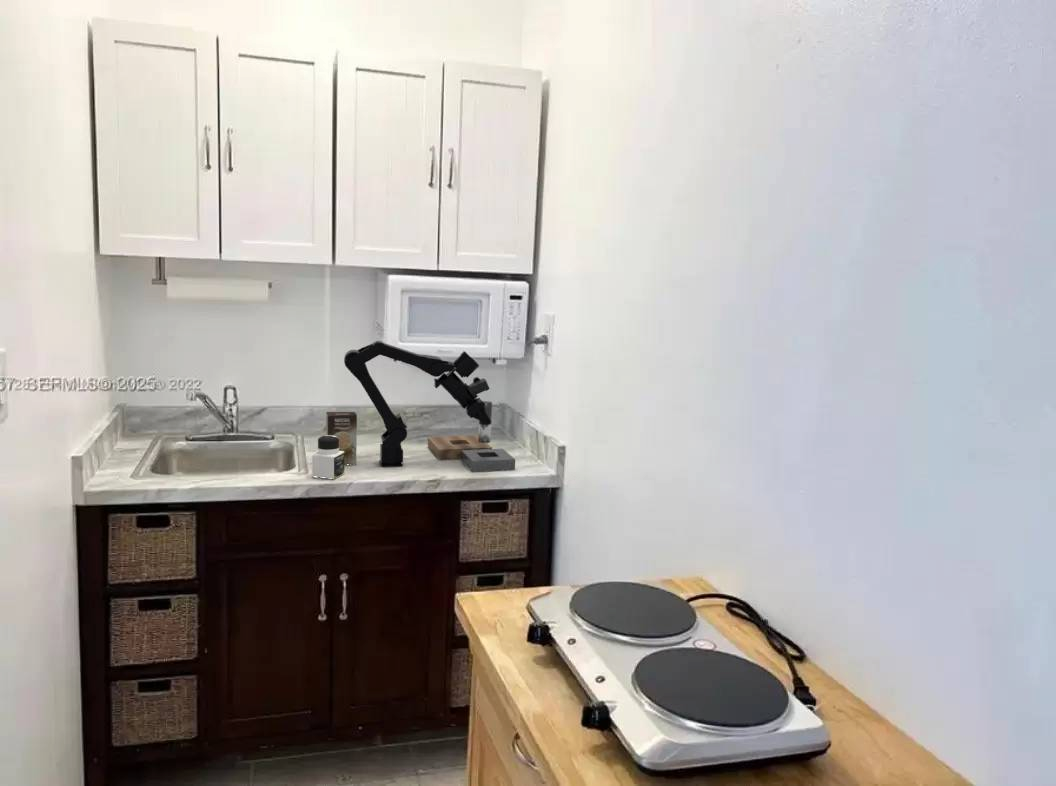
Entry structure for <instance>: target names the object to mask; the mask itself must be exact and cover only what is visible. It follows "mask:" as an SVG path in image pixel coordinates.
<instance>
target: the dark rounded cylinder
mask: <svg viewBox="0 0 1056 786" xmlns="http://www.w3.org/2000/svg"><path fill="white" fill-rule="evenodd" d="M482 401H483V402H484V403H485V406H484V411H485V412H486V414H487V416H488V417H489V419H490V420H491V421H492V417H493V416H492V414H493V411H492V410H493V402H492V401H489V400H488V401H487V400H482ZM491 438H492V422H491V423H490V424H487V423H485V422H482V421H480V420H478V442H480V443H488V444H490V443H491V442H492V440H491Z"/></svg>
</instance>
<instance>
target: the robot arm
mask: <svg viewBox="0 0 1056 786" xmlns="http://www.w3.org/2000/svg"><path fill="white" fill-rule="evenodd" d="M379 356H382V357H384V358H385V357H386V358H388V359H392V360H395V361H398V362H402V363H404V364H407V365H410V366H414V367H416V368H417V369H419V370H421V371H422V372H425V374H428V375H430V376H432V377H435V378H433V381H434V384H433V387H434V388H435V389H439V387H440V386H441V387H442V388H443V389H444V390H445V391H446V392H447V393H448V394H449V395H450V396H451V398H452V399H454V400H455V401H457V403H458V404H459V405H460V406H461V408H463V409H464V410H465V413H466V414H467V416H468V417H469V418H470V419H472V418H473V419H475V420H478V421H479V420H480V421H482V422H485V423H487V424H490V423H491V424H492V419H491V420H490V419H489V417H488V416H487V414H486V412H485V411H484V406H485V403H484V402H483V401H484V400H482V399H481V398H480V397H478V396H479V394H481V393H484V392H485V391H489V390H490V389H491V388H490V386H489V384H488V382H487V379H486V378H480V377H478V376H476V377H473V380H472V383H470V384H467V383H465V382H464V381H463V380H462V379H464V378H468V377H469V376H471V375H472V374H473V373H474V372H475V371H476V370H477V369H478V368H479V367H480V364H479V363H478V362H477V361H476V360H475V359H474V358H473V357H471V356H470V355H469V354H468V353H467V352H466V350H465V351H464V350H463V351H462V352H461V353H460V355H459V356H458V357H457V358H456V359H455V360H454V361H453V362H452V361H449V360H443V359H442V358H441V357H439V356H435V355H429V354H420V353H415V352H413V351H409V350H406V349H403V348H400V347H397V346H396V345H395V346H394V345H391V344H388V343H385V342H383V341H381V340H375V341H374V342H373V343H371V344H368V345H366V346H363V347H361V348H359V349H350V350H348V351H347V352H345V354H344V356H343V357H344V360H343V361H344V366H345V368H347V370H348V371H349V372H350V373H351V374H352V375H353V376H354V377H355V378H356V380H358V381H359V383H360V384H361V386H362V388H363V389H364V391H365V393H366V394H367V396H368V397H369V399H370V400H371V403H372V404H373V406H374V407H375V409H376V410H377V412H378V413H379V415H380V417H381V419H382V420H383V424H384V426H385V429H386V431H385V432H383V433H382V435H380V438H381V443H380V444H379V447H380V448H379V450H380V451H379V453H380V454H379V461H378V462H379V464H380V466H381V467H400V466H401V467H402V466H403V462H404V450H403V448H402V445H401V443H402V442H404V441H405V440H406V438H407V436H408V430H407V429H408V426H407V422H406V421H405V420H403V417H402V416H401V413H400V412H399V413H397V414H395V413H394V412H393V411H392V409H391V407H390V406H389V404H388V403H387V401H386V399H385V398H384V396H383V394H382V392H381V391H380V389H379V387H378V386H377V384H376V382H375V380H374V379H373V377H372V376H371V375H370V372H369V369H368V366H367V364H366V363H367V362H370V361H372V360H373V359H375V358H377V357H379ZM455 372H456V373H457V374H458V375H459V376H460V377H459V376H458V375H457V374H456V373H455ZM437 377H438V378H437ZM461 378H462V379H461Z"/></svg>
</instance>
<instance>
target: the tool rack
mask: <svg viewBox="0 0 1056 786" xmlns="http://www.w3.org/2000/svg"><path fill="white" fill-rule="evenodd" d="M478 436H479V434H478V435H477V434H476V435H452V436H451V435H450V436H449V435H448V436H428V437H427V448H428V450H430V452H431V451H432V452H431V453H432V454H433V455H434V456H435V458H437V460H438V461H446V460H447V459H448V460H449V459H453V460H461V450H481V449H493V447H492V445H490V443H480V442H478Z"/></svg>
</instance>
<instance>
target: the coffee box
mask: <svg viewBox="0 0 1056 786" xmlns="http://www.w3.org/2000/svg"><path fill="white" fill-rule="evenodd" d="M325 415H326V416H325V417H326V418H325V419H326V421H325V426H326V427H325V429H326V430H325V436H327V435H332V436H336V437H338V438H339V450H338V451H344V466H351V465H350V464H356V465H357V435H358V434H357V430H358V429H357V428H358V427H357V426H358V423H357V422H358V420H357V419H358V415H357V413H356V412H355V411H326V414H325ZM347 464H349V465H347Z"/></svg>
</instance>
